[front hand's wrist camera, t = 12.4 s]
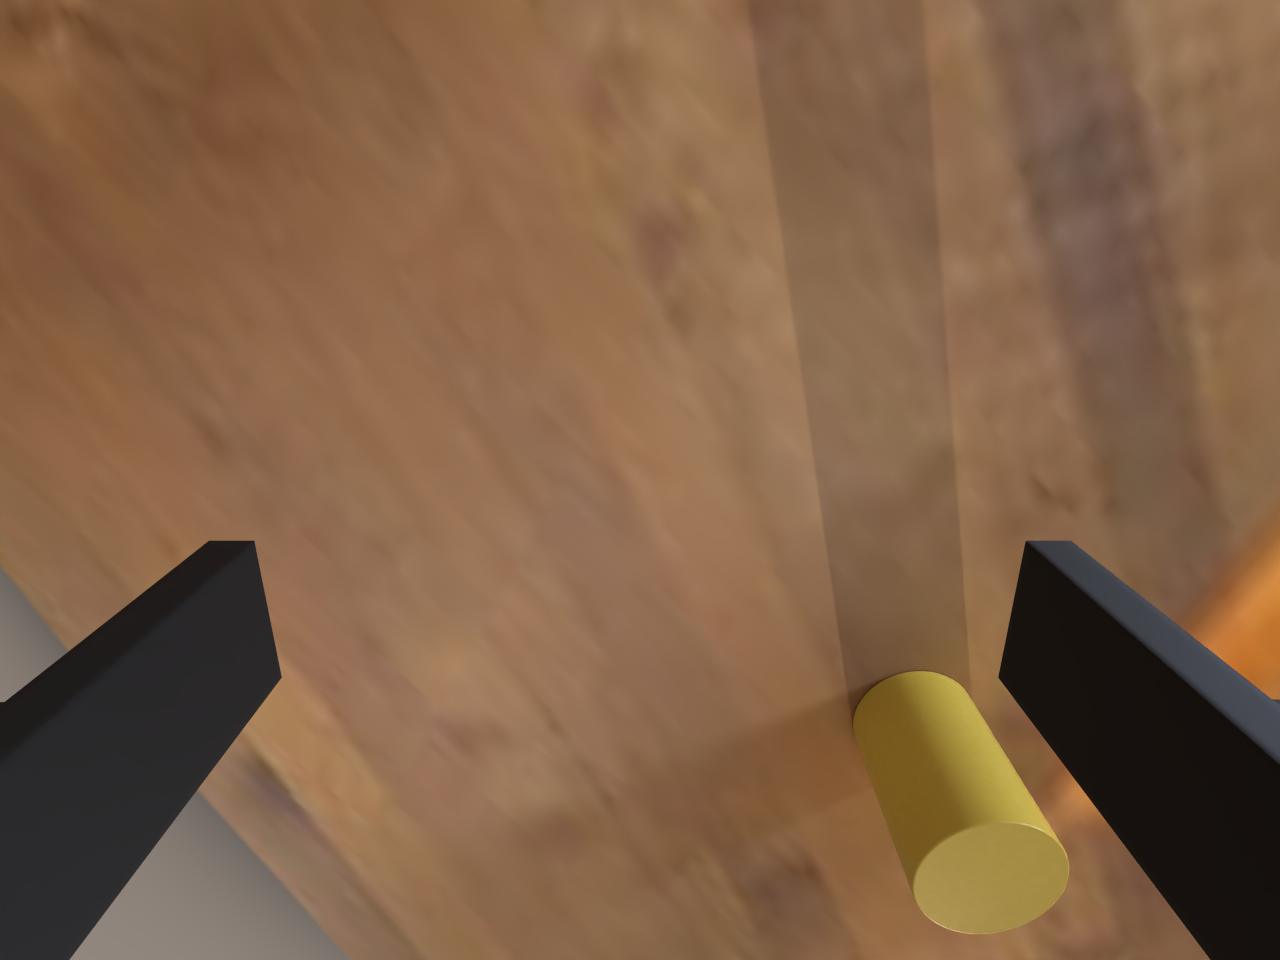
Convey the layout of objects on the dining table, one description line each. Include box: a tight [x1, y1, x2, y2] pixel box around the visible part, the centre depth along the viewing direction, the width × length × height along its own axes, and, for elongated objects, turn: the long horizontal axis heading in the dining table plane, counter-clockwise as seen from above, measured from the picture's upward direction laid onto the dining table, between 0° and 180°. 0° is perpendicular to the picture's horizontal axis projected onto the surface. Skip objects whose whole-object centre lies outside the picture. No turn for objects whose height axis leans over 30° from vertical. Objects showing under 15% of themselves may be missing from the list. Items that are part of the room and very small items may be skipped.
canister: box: [853, 671, 1069, 934], centre depth 35 cm, size 6×6×10 cm
